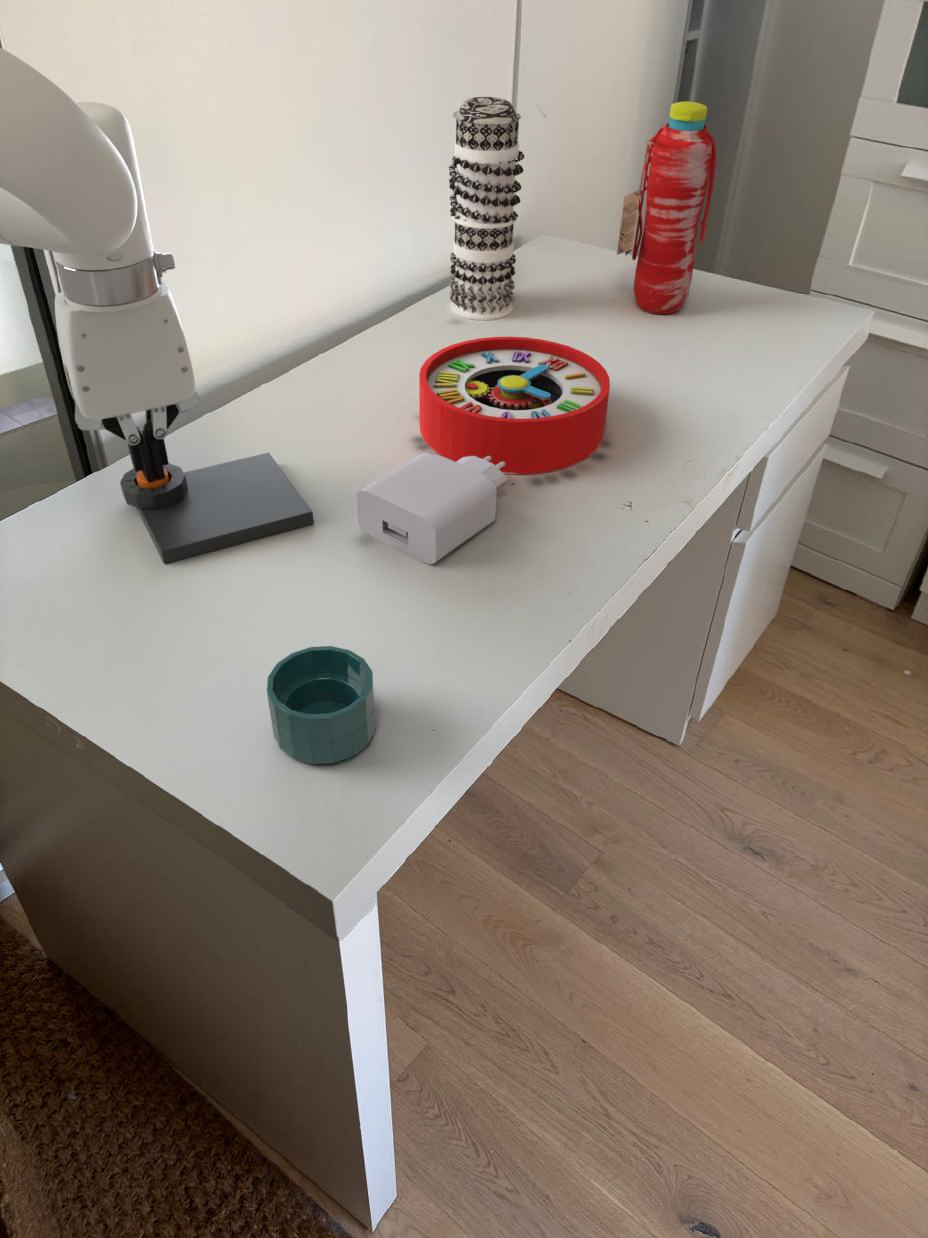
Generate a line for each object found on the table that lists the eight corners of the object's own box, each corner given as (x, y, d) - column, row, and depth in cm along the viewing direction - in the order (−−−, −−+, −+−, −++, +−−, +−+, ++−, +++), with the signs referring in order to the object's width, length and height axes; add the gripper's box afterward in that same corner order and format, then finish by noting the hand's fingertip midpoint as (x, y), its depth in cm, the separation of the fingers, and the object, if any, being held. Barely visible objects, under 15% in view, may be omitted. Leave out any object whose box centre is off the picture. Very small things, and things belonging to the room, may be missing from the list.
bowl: (296, 782, 66) (289, 732, 63) (260, 715, 71) (252, 665, 68) (391, 747, 69) (389, 696, 65) (351, 684, 73) (347, 634, 70)
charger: (533, 497, 94) (435, 568, 85) (459, 466, 98) (358, 530, 89) (536, 455, 91) (435, 524, 82) (460, 424, 95) (355, 486, 86)
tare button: (143, 499, 89) (140, 485, 88) (136, 485, 91) (132, 470, 90) (173, 492, 90) (171, 478, 89) (165, 478, 92) (163, 463, 91)
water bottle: (596, 306, 131) (618, 101, 115) (617, 287, 137) (641, 89, 121) (681, 324, 127) (716, 114, 111) (699, 304, 132) (736, 101, 116)
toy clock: (379, 379, 100) (497, 321, 112) (381, 429, 104) (495, 368, 116) (535, 443, 90) (646, 372, 102) (531, 496, 94) (639, 422, 106)
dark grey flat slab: (154, 567, 84) (148, 538, 82) (121, 498, 92) (114, 470, 91) (314, 524, 90) (311, 496, 88) (269, 462, 98) (266, 436, 96)
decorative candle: (524, 318, 127) (537, 108, 111) (455, 323, 126) (458, 111, 110) (506, 292, 134) (515, 91, 118) (441, 297, 132) (441, 93, 116)
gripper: (188, 248, 83) (219, 437, 95) (4, 276, 77) (61, 473, 89) (214, 278, 78) (243, 473, 90) (20, 309, 72) (78, 514, 84)
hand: (152, 473), depth 89 cm, fingers closed
